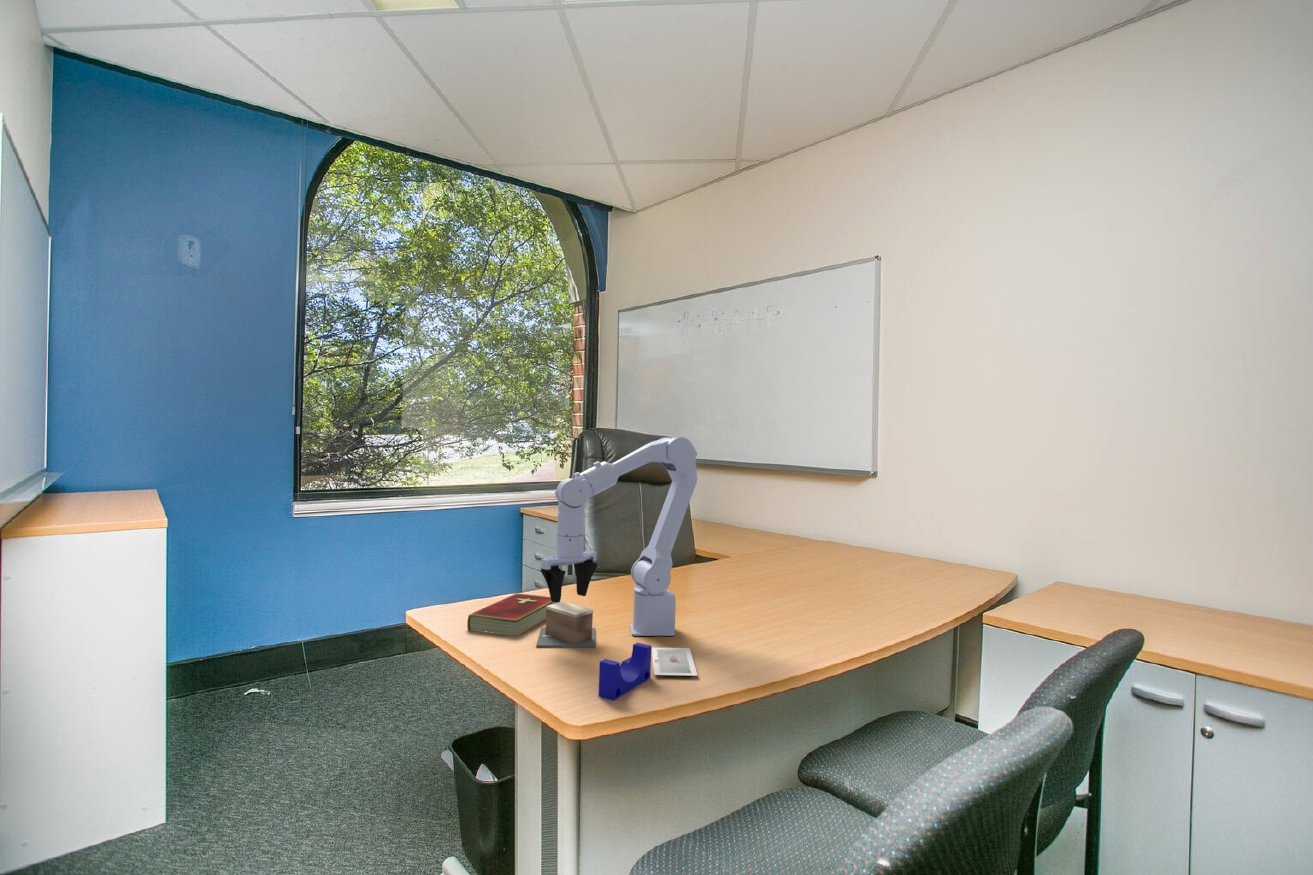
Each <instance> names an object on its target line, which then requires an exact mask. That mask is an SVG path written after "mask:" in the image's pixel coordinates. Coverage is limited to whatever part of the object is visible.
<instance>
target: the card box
mask: <svg viewBox="0 0 1313 875" xmlns="http://www.w3.org/2000/svg"><path fill="white" fill-rule="evenodd" d="M593 615H594V609H591V608H587V607H584V606H581V605H577V604H573V603H571V602H567V601H560V602H559V603H556V604H552V605H548V606H546V619H545V628H546V630H545V634H546V635H549V636H552V637H555V638H558V639H561V640H564V641H567V642H570V643H573V644H576V643H579V642H582V641H585V640H588V639H591V638H592V628H593V621H594V620H593V618H594V616H593Z"/></svg>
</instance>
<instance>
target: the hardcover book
mask: <svg viewBox="0 0 1313 875" xmlns="http://www.w3.org/2000/svg"><path fill="white" fill-rule="evenodd" d="M552 604H556V602H553V601H551V598H550V596H545V595H544V596H543V595H537V594H526V593H514V594H512V595H510V596H508V597H506V598H503V599H501V600H498V601H497V602H494V603H491V604H490V605H487V606H485V607H483V608H481V609H478V610H477V611H474V612H472V613H470V614H469V615H468V617H467V623H466V624H467V631H474V630H476V631H475V632H481V631H487V632H486V633H489V632H493V633H492V634H496V633H498V635H505V636H512V637H516V636H518V635H520V634H521V633H524V632H526V631H527V630H528V629H530V628H532V627H534V626H535V625H537V624H539V623H540V622H542V621H544V620H546V606H548V605H552Z"/></svg>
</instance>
